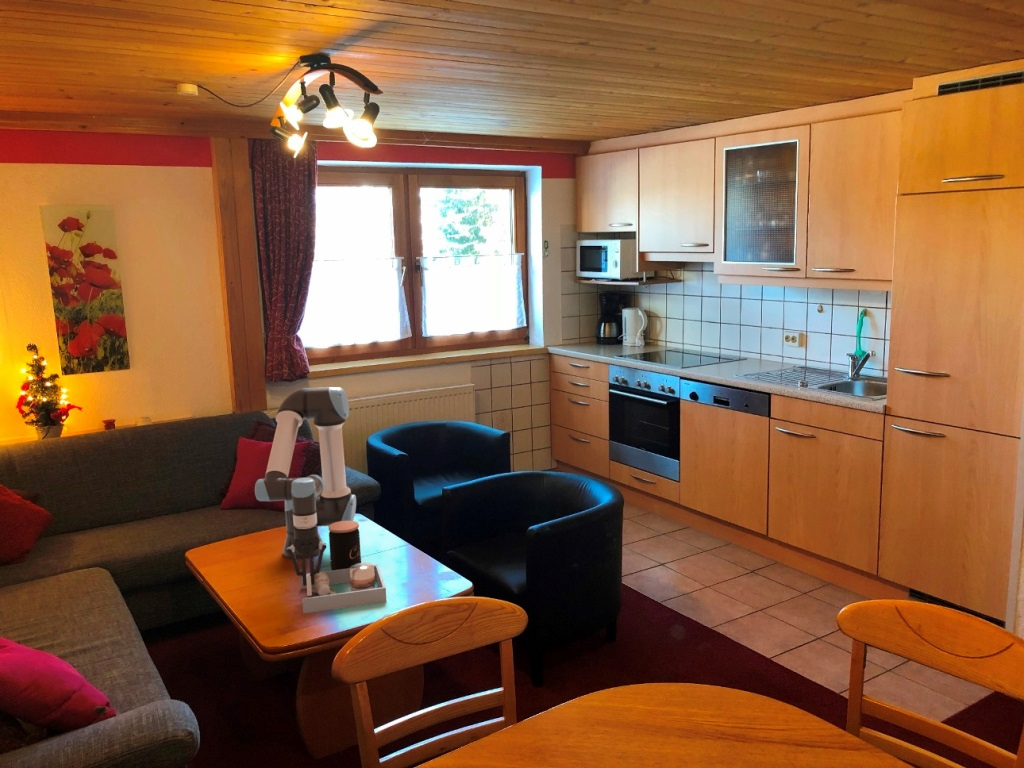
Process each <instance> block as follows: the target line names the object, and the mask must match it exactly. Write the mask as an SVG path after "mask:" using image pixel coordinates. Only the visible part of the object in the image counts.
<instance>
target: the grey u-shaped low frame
mask: <svg viewBox="0 0 1024 768" xmlns="http://www.w3.org/2000/svg"><path fill="white" fill-rule="evenodd" d="M373 565H374V574H375V580H376V581H377V583H378V587H375V588H374V589H367V590H360V591H352V592H351V591H346V592H339V593H336V594H330V593H329V594H328V595H323V596H320V595H317V596H311V597H309V596H308V597H303V598H302V600H301V601H302V612H303V614H304V615H305V614H311V613H317V612H322V611H330V610H337V609H344V608H350V607H357V606H365V605H370V604H376V603H377V604H378V603H383V602H385V603H386V602H387V587H386V585H385V582H384V578H383V576H382V573H381V570H380V567H379V564H373ZM323 572H325V573H326V574H327V575H328V577H329V585H330V586H332V585H331V584H333V585H338V583H340V584H345V583H346V582H347V583H351V582H350V568H347V569H340V570H332V571H331V570H326V571H323ZM308 574H310V572H309V573H308ZM347 583H346V584H347ZM300 586H301V587H300V588H301V589H302V590H303V589H307V586H304V585H303V577H302V576H300Z"/></svg>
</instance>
